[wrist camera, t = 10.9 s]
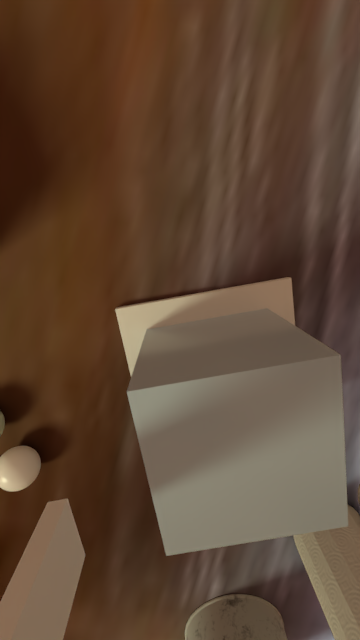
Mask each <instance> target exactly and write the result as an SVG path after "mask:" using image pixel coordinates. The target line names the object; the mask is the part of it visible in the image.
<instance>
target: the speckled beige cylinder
mask: <svg viewBox="0 0 360 640" xmlns="http://www.w3.org/2000/svg"><path fill="white" fill-rule="evenodd" d="M185 640H287V637H286V633H285V630H284V623H283V620H282V617H281V614H280V613H279V612H278V610H277V609H276V607H274V606H273V605H272V604H271V603H270V602H268V601H266V600H264V599H262V598H260V597H257V596H253V595H248V594H229V595H224V596H220V597H216V598H214V599H211V600H209V601H207V602H205V603H204V604H202V605H201V606H200V607H198V608H197V609H196V610H195V611H194V612H193V613H192V614H191V616H190V618H189V620H188V621H187V624H186V628H185Z"/></svg>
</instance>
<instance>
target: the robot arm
mask: <svg viewBox="0 0 360 640" xmlns="http://www.w3.org/2000/svg"><path fill="white" fill-rule="evenodd" d="M84 559H85V552H84V549H83V546H82V543H81V539H80V536H79V533H78V530H77V527H76V524H75V520H74V517H73V514H72V511H71V508H70V505H69V501H68V499H62V500H57V501H51V502H47V505H46V507H45V509H44V511H43V513H42V515H41V517H40V519H39V521H38V523H37V526H36V528H35V530H34V532H33V534H32V536H31V538H30V540H29V542H28V544H27V547H26V549H25V551H24V553H23V555H22V557H21V559H20V561H19V563H18V565H17V568H16V570H15V572H14V574H13V576H12V578H11V580H10V582H9V584H8V586H7V589H6V591H5V593H4V595H3V597H2V599H1V601H0V640H63V637H64V634H65V630H66V626H67V622H68V619H69V615H70V611H71V607H72V604H73V600H74V596H75V592H76V589H77V585H78V581H79V577H80V574H81V570H82V566H83V562H84Z"/></svg>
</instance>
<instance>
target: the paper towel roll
mask: <svg viewBox="0 0 360 640" xmlns="http://www.w3.org/2000/svg"><path fill="white" fill-rule="evenodd" d="M358 502H359V505H360V484H359V487H358ZM347 506H348V527H341V528H335V529H329V530H323V531H317V532H311V533H304V534H298V535H293V536H294V540H295V544H296V547H297V549H298V552H299V554H300V556H301V559H302V561H303V564H304V566H305V569H306V571H307V573H308V576H309V578H310V581H311V583H312V585H313V588H314V590H315V593H316V595H317V597H318V600H319V602H320V605H321V607H322V610H323V612H324V614H325V617H326V619H327V622H328V624H329V626H330V629H331V631H332V634H333V636H334V638H335V640H360V515H359V514H358V512H357V511H356V510H355V509H354V508H353V507H351V506H349V505H347Z"/></svg>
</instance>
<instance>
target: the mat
mask: <svg viewBox="0 0 360 640" xmlns="http://www.w3.org/2000/svg"><path fill="white" fill-rule="evenodd" d="M265 308H268V309H269V310H271V311H273V312H274V313H276V314H277V315H279V316H280V317H282V318H284V319H285V320H287V321H288V322H290V323H291V324H293V325H295V317H294V304H293V292H292V280H291V278H290V277H285V278H280V279H274V280H269V281H263V282H257V283H252V284H246V285H240V286H235V287H229V288H223V289H218V290H212V291H207V292H201V293H195V294H190V295H184V296H178V297H173V298H167V299H161V300H156V301H150V302H145V303H139V304H133V305H128V306H122V307H117V308H116V309H115V310H116V315H117V319H118V323H119V328H120V332H121V336H122V340H123V345H124V349H125V353H126V358H127V362H128V366H129V370H130V375H131V377H132V374H133V370H134V367H135V364H136V361H137V358H138V355H139V352H140V348H141V345H142V342H143V339H144V336H145V333H146V330H147V329H152V328H157V327H163V326H169V325H174V324H180V323H186V322H191V321H197V320H203V319H208V318H214V317H220V316H226V315H231V314H237V313H243V312H248V311H254V310H260V309H265Z"/></svg>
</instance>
